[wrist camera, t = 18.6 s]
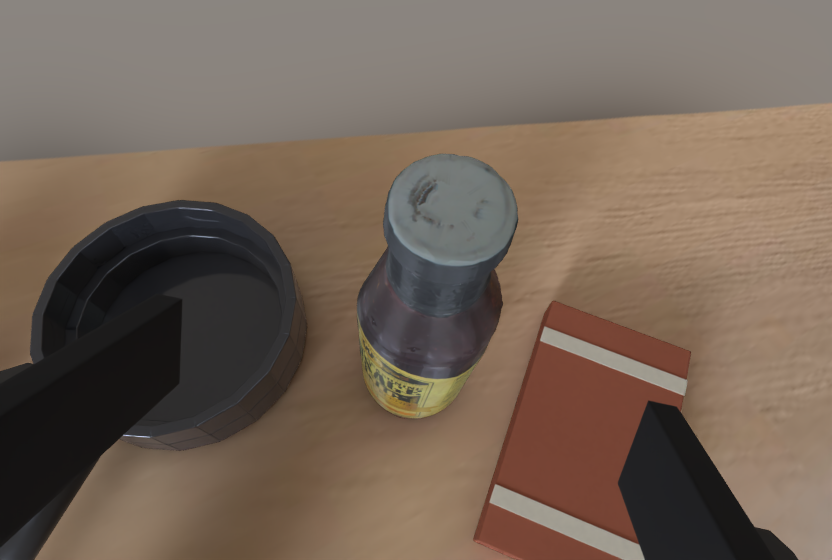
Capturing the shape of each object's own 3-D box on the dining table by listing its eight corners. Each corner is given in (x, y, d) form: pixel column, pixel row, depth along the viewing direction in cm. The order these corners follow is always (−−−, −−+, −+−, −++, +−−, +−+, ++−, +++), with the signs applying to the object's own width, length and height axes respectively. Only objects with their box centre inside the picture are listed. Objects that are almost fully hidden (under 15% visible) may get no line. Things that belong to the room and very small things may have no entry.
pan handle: (90, 426, 29) (72, 419, 27) (118, 439, 28) (102, 432, 27) (-44, 626, 25) (-74, 632, 23) (-12, 643, 24) (-40, 651, 23)
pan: (343, 283, 36) (336, 247, 32) (236, 490, 30) (209, 481, 26) (163, 214, 38) (133, 171, 34) (29, 396, 32) (-30, 373, 28)
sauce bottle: (346, 358, 34) (297, 159, 16) (427, 311, 36) (465, 84, 18) (399, 449, 32) (411, 332, 14) (484, 394, 33) (591, 227, 16)
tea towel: (676, 361, 35) (692, 351, 33) (630, 609, 29) (647, 614, 27) (544, 311, 36) (552, 299, 34) (472, 540, 30) (477, 540, 28)
